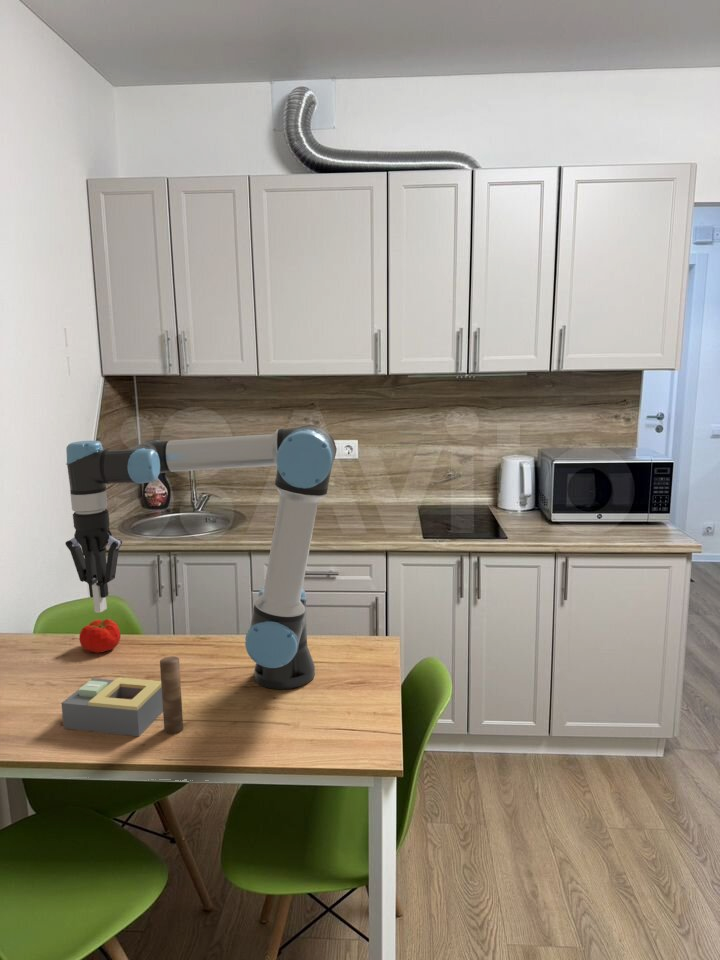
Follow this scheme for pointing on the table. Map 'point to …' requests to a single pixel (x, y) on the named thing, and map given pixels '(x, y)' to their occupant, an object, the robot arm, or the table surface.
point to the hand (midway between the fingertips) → (100, 610)
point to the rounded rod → (171, 695)
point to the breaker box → (115, 707)
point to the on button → (92, 688)
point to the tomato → (100, 636)
